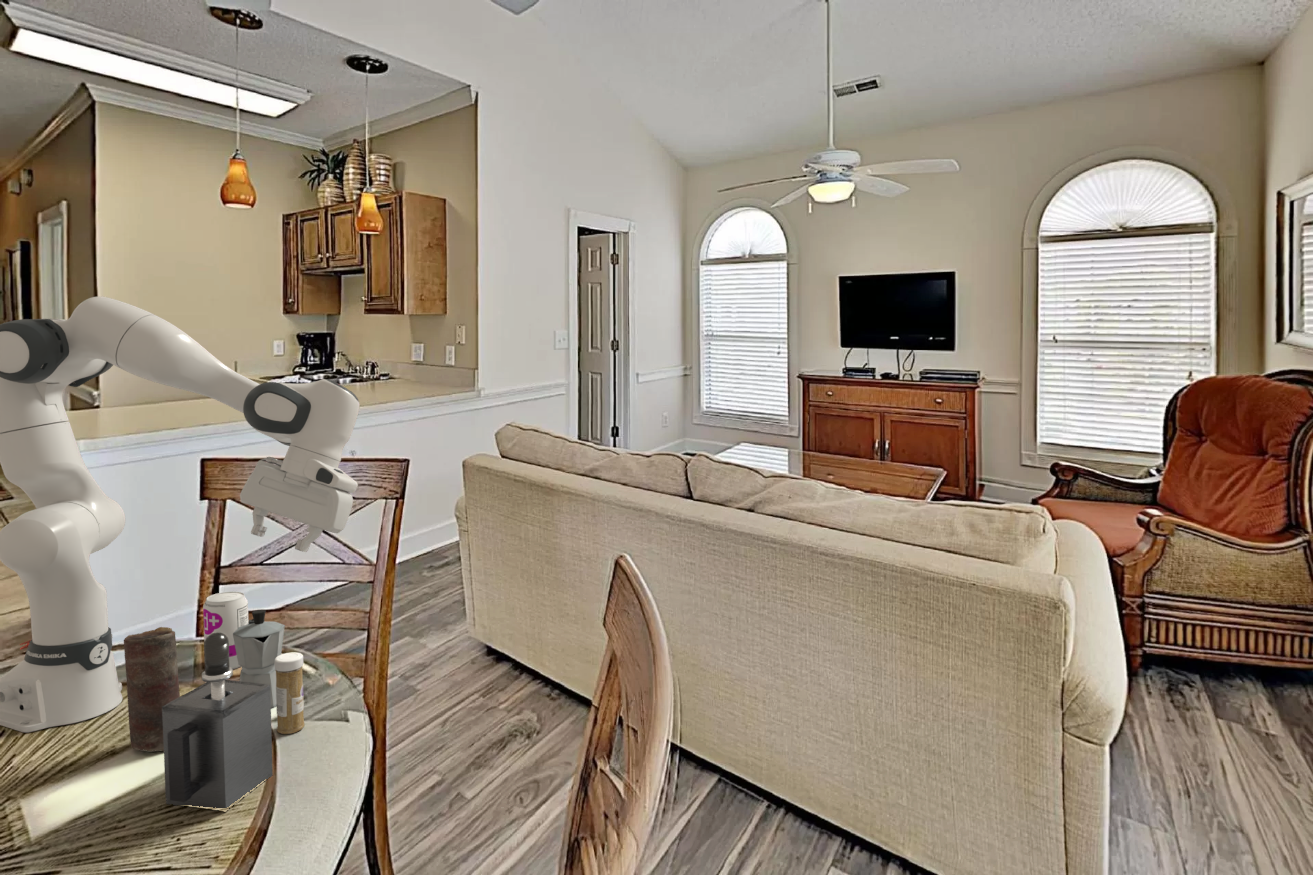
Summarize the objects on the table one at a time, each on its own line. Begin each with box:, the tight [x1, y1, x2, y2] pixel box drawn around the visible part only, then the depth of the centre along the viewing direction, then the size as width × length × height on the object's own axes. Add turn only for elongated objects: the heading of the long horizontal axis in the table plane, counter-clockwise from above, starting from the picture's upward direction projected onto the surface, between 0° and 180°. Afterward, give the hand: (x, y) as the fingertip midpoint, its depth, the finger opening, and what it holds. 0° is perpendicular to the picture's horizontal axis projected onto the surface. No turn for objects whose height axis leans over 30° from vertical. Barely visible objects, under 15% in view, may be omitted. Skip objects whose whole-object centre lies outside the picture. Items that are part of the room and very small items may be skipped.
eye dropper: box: [201, 632, 234, 701], centre depth 112 cm, size 8×8×22 cm
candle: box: [123, 626, 181, 753], centre depth 125 cm, size 8×7×20 cm
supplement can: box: [202, 591, 249, 670], centre depth 159 cm, size 8×8×15 cm
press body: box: [162, 679, 274, 808], centre depth 111 cm, size 10×13×15 cm
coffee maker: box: [233, 609, 286, 709], centre depth 143 cm, size 15×9×18 cm, turn 34°
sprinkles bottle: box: [275, 651, 306, 735], centre depth 132 cm, size 5×5×13 cm
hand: (278, 543), depth 130 cm, fingers open, 8 cm apart
